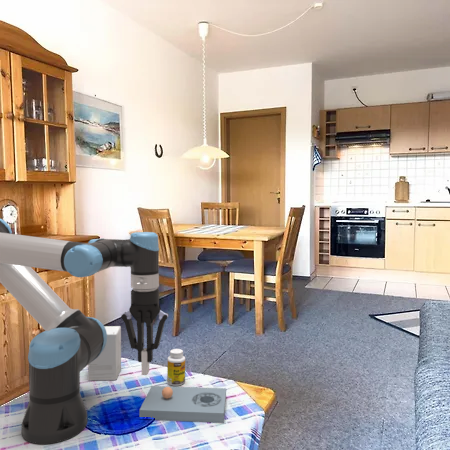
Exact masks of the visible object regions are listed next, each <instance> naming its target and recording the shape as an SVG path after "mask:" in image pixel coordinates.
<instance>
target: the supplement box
mask: <svg viewBox="0 0 450 450" xmlns="http://www.w3.org/2000/svg"><path fill="white" fill-rule="evenodd" d="M104 327H105V329H106V332H107V343H106V346H105V348H104V350H103V351H102V352H101V354H100V355H99V356H98V357H97V358H96V359H95V360H93V361H92V362H91V363H89V364H88V365H87V370H88V372H87V375H88V376H87V377H88V379H87V380H88V381H116V380H117V379H118V377H119V375H120V372H121V370H122V326H121V325H115V326H113V325H111V326H110V325H109V326H107V325H104Z"/></svg>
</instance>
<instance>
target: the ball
mask: <svg viewBox="0 0 450 450" xmlns="http://www.w3.org/2000/svg"><path fill="white" fill-rule="evenodd" d="M172 394H173V390H172V389H171V388H170V387H165V388H164V389H163V390H162V396H163V397H164V398H166V399H168V398H170V397H171V396H172Z"/></svg>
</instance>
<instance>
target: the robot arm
mask: <svg viewBox="0 0 450 450" xmlns="http://www.w3.org/2000/svg"><path fill="white" fill-rule="evenodd" d="M159 247H160V246H159V235H158V234H157V233H156V232H153V231H135V232H132V233H130V237H129V239H116V238H115V239H112V238H93V239H90V240H89V241H88V242H87V243H86V242H78V241H71V240H63V239H54V238H47V237H39V236H31V235H24V234H23V235H22V234H15V233H13V231H12V228H11V227H10V225H9V224H8V223H7V222H6V221H5V220H4V219H2V218H0V284H1V285H2V287H4V288H5V289H6V291H8V292H9V294H11V296H12V297H13V298H14V299H15V300H16V301H17V302H18V303H19V305H21V306H22V307H23V308H24V310H25V311H26V312H27V313H28V314H29V315H30V316H31V317H32V318H33V319H34V320H35V322H37V323H38V324H39V325H40V327H42V329H43V330H44V331H42V332H39V333H38V334H37V335H35V336H34V337H33V338H32V339H31V340H30V343H29V348H28V353H27V354H28V355H27V361H28V385H29V386H28V387H29V388H28V390H29V399H28V400H29V401H28V403H27V407H26V411H25V413H24V416H23V419H22V423H21V437H22V439H24V440H25V441H27V442H29V443H31V444H37V445H48V444H55V443H60V442H63V441H66V440H68V439H71V438H74V437H75V436H77V435H78V434H80V433H82V431H83V430H84V429H85V428H86V427H87V425H88V411H87V408H86V406H85V403H84V400H83V398H82V395H81V386H80V385H81V378H80V377H81V376H80V375H81V372H82V371H83V370H84V369H85V368H86V367H88V364H89V363H91V362H92V361H93V360H95V359H96V358H97V357H98V356H99V355H100V354H101V352H102V351H103V350H104V348H105V346H106V343H107V332H106V329H105V327H104V326H105V325H104V323H102V322H101V321H100V320H99V319H98V318H95V317H92V316H91V317H90V316H86V315H85V314H84V313H83V312H82V311H81V310H80V309H79V308H76V309H75V308H71V307H70V306H69V305H68V304H67V303H65V301H64V300H63V299H62V298H61V297H60V296H59V295H58V294H57V293H56V292H55V291H54V290H53V288H51V287H50V285H49V284H48V283H47V282H46V281H45V280H44V279H43V277H41V276H40V275H39V274H38V273H37V272H36V271H35V270H34V269H33V268H38V269H45V270H50V271H51V270H52V271H59V272H67V273H69V274H70V275H71V276H73V277H76V278H88V277H90V276H93V275H95V274H96V273H99V272H101V271H104V270H106V269H109V268H111V267H112V268H114V267H115V268H118V267H120V268H122V267H125V268H128V267H129V268H130V287H131V291H130V307H129V309H128V310H127V311H125V312H123V313H122V315H121V316H120V318H121V319H122V321H123V323H124V324H125V329H126V332H127V336H128V341H129V345H130V348H131V349H133V350H134V349H135V350H136V351H137V362H138V363H141V376H148V374H149V373H150V363H152V361H153V359H154V353H153V351H154V350H157V349H158V348H159V346H160V344H161V340H162V336H163V331H164V327H165V322H166V320H167V319H168V318H169V315H170V314H169V313H168V312H164V311H162V309H161V306H160V290H159V287H160V274H159V273H160V271H159V269H160V268H159V267H160V266H159V265H160V264H159V262H160V261H159V260H160V248H159ZM157 316H158V319H159V322H158V325H157V331H156V333H155V338H154V321H155V319H156V318H157ZM132 317H133V318H134V320H135V321H136V329H137V330H136V332H135V327H134V324H133V321H132ZM144 326H146V348H145V327H144ZM136 333H137V334H136Z"/></svg>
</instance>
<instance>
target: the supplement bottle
mask: <svg viewBox="0 0 450 450" xmlns="http://www.w3.org/2000/svg"><path fill="white" fill-rule="evenodd" d="M169 352H170V353H169V356H168V357H167V371H166V372H167V375H166V376H167V377H166V379H167V384H168V386H172V387H181V385H184V384H185V382H186V356H184V351H183V349H181V348H173V349H171V350H170V351H169Z"/></svg>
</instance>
